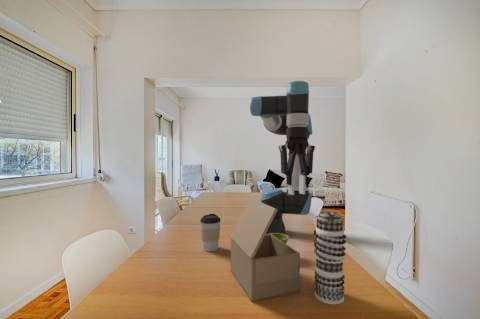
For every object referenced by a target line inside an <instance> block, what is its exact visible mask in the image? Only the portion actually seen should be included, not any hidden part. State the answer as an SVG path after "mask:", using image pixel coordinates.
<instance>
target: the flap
mask: <svg viewBox="0 0 480 319" xmlns="http://www.w3.org/2000/svg"><path fill="white" fill-rule="evenodd" d="M276 212H277V209H275V208H273V207H271V206H268V205H266V204H264V203H262V202H261V201H259V200H257V199H254V198H252V197H250V198H249V200H248V203H247V204H246V206H245V208H244V210H243V212H242V214H241V215H240V217H239V219H238V221H237V223H236V225H235V227H234V228H233V230H232V233H231V234H230V235H229V236H230V237H229V238H230V240H231V239H232V240H233V241H234V242H235V243H236V244H237V245H238V246H239V247H240V248H241V249H242V250H243V251H244V252H245V253H246V254H247V255H248V256H249V257H250V258H251V259H253V258H254V256H255V254H256V252H257V250H258V248H259V246H260V244H261V242H262V240H263V238H264V236H265V234H266V232H267V230H268V228H269V226H270V224H271V222H272V220H273V218H274V216H275V214H276Z"/></svg>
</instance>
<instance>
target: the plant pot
mask: <svg viewBox="0 0 480 319" xmlns="http://www.w3.org/2000/svg"><path fill="white" fill-rule="evenodd" d="M270 234H272V235H273V236H275V237H276V238H278V239H279V240H281V241H282V242H284V243H285V244H287V242H288V240H289V238H290V237H289V235H287V234H286V233H285V234H282V233H270ZM287 245H288V244H287Z"/></svg>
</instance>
